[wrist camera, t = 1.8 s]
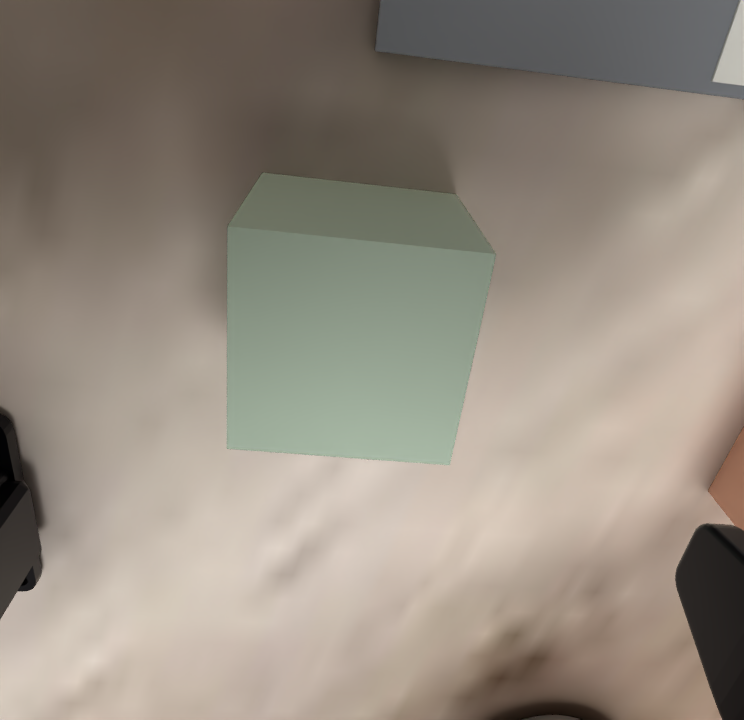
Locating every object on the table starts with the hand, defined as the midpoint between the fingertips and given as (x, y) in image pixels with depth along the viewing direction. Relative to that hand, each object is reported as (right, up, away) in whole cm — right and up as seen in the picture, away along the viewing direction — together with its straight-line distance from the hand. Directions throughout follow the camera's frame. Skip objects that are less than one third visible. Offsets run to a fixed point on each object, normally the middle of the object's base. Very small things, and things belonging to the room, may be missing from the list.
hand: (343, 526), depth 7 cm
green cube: (0, +4, +8) cm, 9 cm away
